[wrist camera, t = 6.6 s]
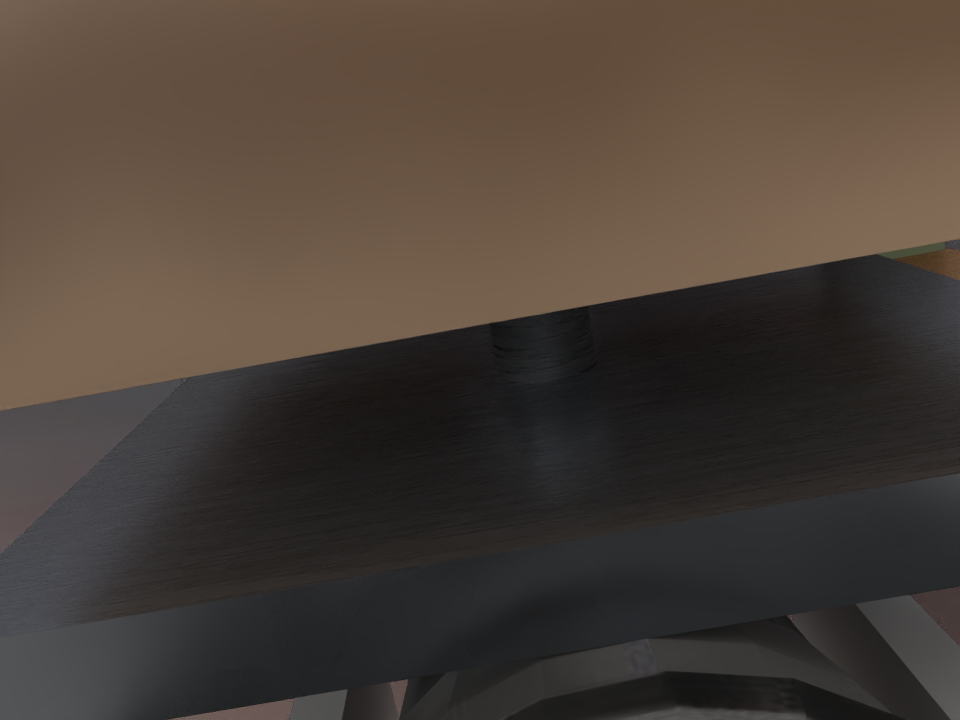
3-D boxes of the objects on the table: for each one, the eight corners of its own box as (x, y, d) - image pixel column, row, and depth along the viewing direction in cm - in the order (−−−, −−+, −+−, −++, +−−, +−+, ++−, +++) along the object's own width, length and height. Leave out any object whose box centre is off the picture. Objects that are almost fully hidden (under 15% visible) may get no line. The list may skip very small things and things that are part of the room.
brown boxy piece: (941, 413, 21) (1345, 656, 11) (281, 528, 22) (136, 855, 12) (926, -98, 18) (1467, -355, 8) (153, 49, 18) (-185, -32, 9)
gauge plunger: (949, 289, 18) (1534, 488, 8) (214, 420, 18) (-67, 759, 8) (934, -256, 15) (1794, -944, 5) (71, -87, 15) (-581, -439, 6)
